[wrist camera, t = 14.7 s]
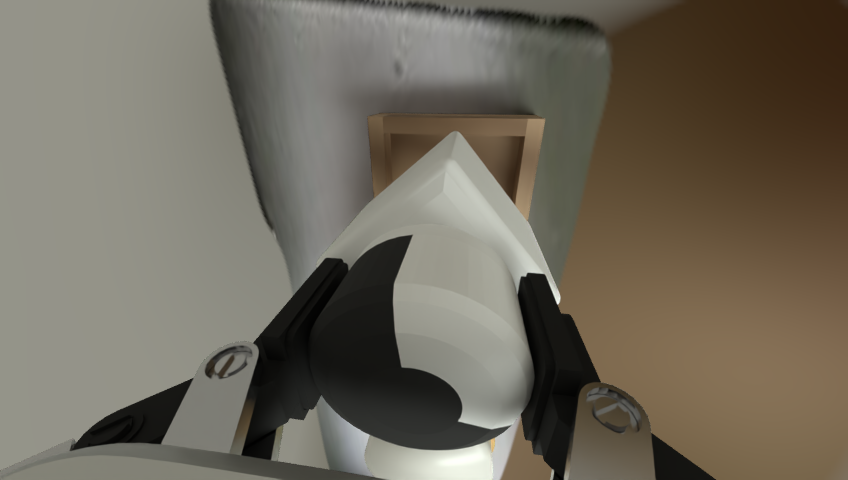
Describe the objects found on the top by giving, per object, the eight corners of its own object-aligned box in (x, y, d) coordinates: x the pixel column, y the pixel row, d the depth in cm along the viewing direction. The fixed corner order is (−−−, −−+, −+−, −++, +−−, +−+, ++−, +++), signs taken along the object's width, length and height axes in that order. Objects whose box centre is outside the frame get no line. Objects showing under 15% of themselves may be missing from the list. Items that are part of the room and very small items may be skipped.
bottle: (501, 306, 27) (526, 485, 15) (444, 341, 29) (426, 515, 17) (448, 254, 25) (427, 408, 13) (393, 296, 28) (334, 454, 16)
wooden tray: (499, 340, 30) (502, 364, 27) (393, 329, 31) (385, 351, 29) (535, 115, 20) (545, 118, 18) (379, 113, 22) (367, 116, 19)
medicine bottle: (438, 284, 20) (402, 501, 10) (364, 206, 18) (218, 368, 8) (531, 226, 17) (627, 442, 7) (456, 126, 15) (427, 210, 5)
